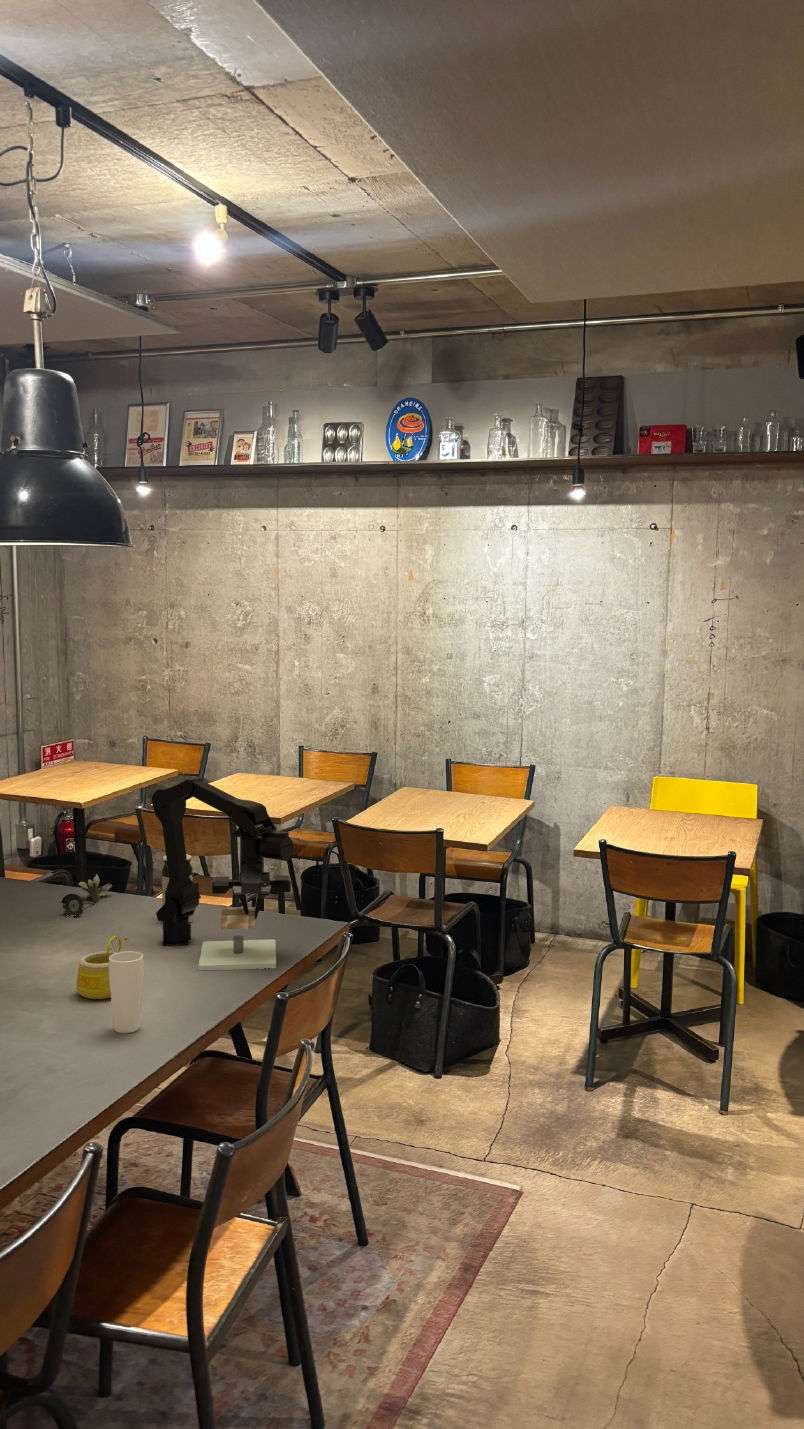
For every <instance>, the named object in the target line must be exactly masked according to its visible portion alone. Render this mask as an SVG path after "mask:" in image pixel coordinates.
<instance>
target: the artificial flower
mask: <svg viewBox="0 0 804 1429" xmlns="http://www.w3.org/2000/svg"><path fill="white" fill-rule="evenodd" d="M92 879H93V880H91V879H88V880H87V883H86V882H84V881H80V882H79V883H78V886H80V888H81V890H83V891H85V892H86V893H88V894H87V895H85V899H87V898H88V897H89V898H91V899H92V900H93V901H94V902H84V900H83V898H82V896H80V895H78V894H76V893H68V894H66V895H64V897H63V898H62V900H61V901H60V904H62V909H64V911H62V912H61V913H62V914H63V915H64V916H65V917H66V916H67V915H74V916H75V915H76V917H75V918H78V917H80V916H81V915H83V912H84V910H83V908H84V905H90V906H96V905H97V904H98V903H99V901H100V899H101V896H100V895H101V893H106V892H108V891H109V890H110V889H111V888H112V887H113V885H112V884H110V883H107V884H105V885H103V886H101V887H99V884H100V878H99V876H98V873H95V876H94V877H93V878H92ZM96 903H97V904H96ZM95 904H96V905H95ZM77 915H78V916H77Z"/></svg>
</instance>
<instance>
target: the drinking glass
mask: <svg viewBox="0 0 804 1429" xmlns="http://www.w3.org/2000/svg"><path fill="white" fill-rule="evenodd" d="M144 964H145V963H144V954H143V953H141V952H139V951H130V950H128V951H126V950H124V951H121V952H119V953H117V952H116V953H115V954H113V955H111V956H110V957H109V985H110V994H111V998H110V1001H111V1003H110V1004H111V1015H112V1028H113V1030H114V1032H116V1033H118V1034H132V1033H135V1032H137V1031H138V1030H139V1029H140V1027H141V1025H142V1022H141V1020H142V1019H141V1018H142V1017H141V1016H142V1015H141V1014H142V1002H143V991H144V975H145V974H144V973H145V970H144V969H145V967H144V966H145V965H144Z"/></svg>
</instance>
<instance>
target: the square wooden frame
mask: <svg viewBox="0 0 804 1429" xmlns="http://www.w3.org/2000/svg"><path fill="white" fill-rule="evenodd" d="M248 909H249V914H248V915H245V912H244V909H243V906H239V907H237V906H235V907H222V908H221V912H220V914H221V915H220V931H221V930H252V929H253V930H254V929H256V928H255V927H256V926H255V925H256V919H255V906H248Z"/></svg>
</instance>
